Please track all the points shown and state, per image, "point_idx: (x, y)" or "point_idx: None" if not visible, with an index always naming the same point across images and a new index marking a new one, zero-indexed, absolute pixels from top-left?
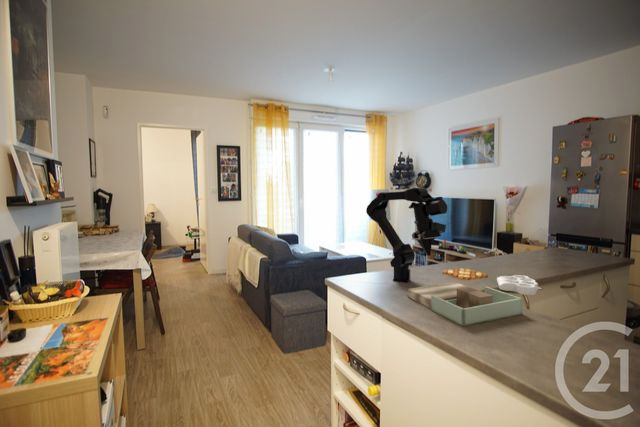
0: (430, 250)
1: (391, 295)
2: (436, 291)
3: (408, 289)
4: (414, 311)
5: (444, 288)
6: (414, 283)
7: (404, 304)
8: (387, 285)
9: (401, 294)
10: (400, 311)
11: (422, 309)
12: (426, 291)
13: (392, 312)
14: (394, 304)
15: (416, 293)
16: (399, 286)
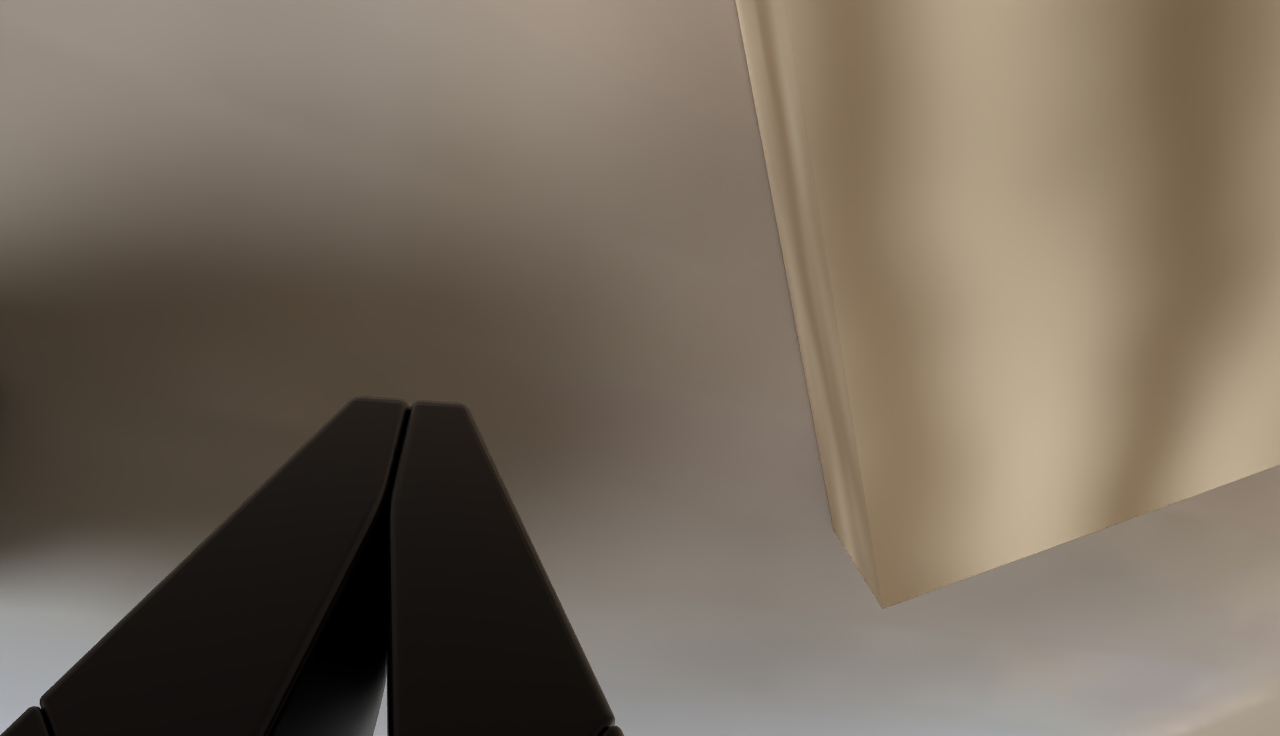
0: (547, 586)
1: (725, 695)
2: (1151, 238)
3: (899, 601)
4: (1263, 547)
5: (1073, 15)
6: (75, 258)
7: (1056, 603)
8: None
9: (715, 585)
10: (1201, 660)
11: None
12: (1083, 389)
13: (1188, 721)
14: (1017, 690)
15: (1080, 531)
16: None
